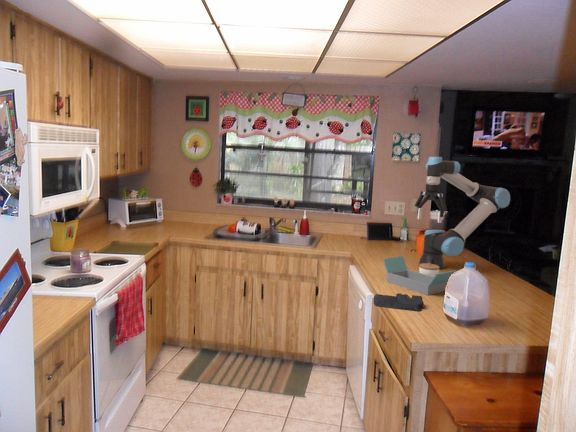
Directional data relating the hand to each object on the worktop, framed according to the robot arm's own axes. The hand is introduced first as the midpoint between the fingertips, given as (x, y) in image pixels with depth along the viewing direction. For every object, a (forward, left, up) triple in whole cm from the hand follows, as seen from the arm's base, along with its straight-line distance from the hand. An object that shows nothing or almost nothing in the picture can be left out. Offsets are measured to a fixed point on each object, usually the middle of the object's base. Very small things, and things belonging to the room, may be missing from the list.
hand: (429, 220), depth 268 cm
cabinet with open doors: (+16, -28, -31) cm, 44 cm away
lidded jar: (+10, -10, -31) cm, 34 cm away
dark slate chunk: (+31, -61, -31) cm, 75 cm away
